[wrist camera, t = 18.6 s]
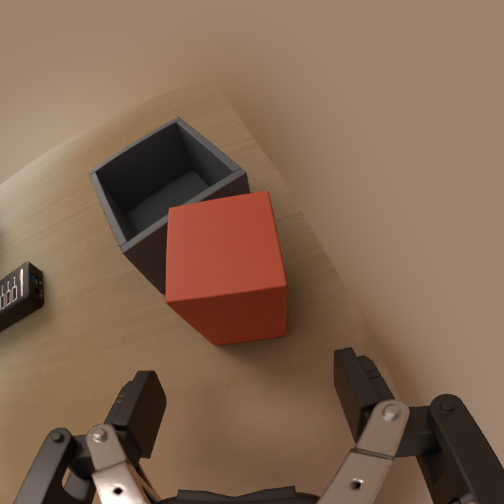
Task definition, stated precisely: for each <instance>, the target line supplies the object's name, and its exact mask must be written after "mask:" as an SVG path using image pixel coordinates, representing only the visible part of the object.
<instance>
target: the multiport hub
mask: <svg viewBox="0 0 504 504" xmlns="http://www.w3.org/2000/svg"><path fill="white" fill-rule="evenodd" d="M43 303H44V299H43V281H42V271H40V270H39V269H38V268H37V267H35V266H34V265H33V264H31V263H30V262H29V261H27V262H26V263H24V264H23V265H21V266H20V267H19V268H17V269H16V270H14V271H13V272H12V273H10V274H9V275H8V276H6V277H5V278H4V279H2V280H1V281H0V332H1V331H2V330H4V329H5V328H7V327H9V326H10V325H12V324H13V323H15V322H17V321H18V320H20V319H22V318H23V317H25V316H27V315H28V314H30V313H32V312H33V311H35V310H37V309H39V308H40V307H42V306H43Z"/></svg>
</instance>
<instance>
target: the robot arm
mask: <svg viewBox="0 0 504 504" xmlns="http://www.w3.org/2000/svg"><path fill="white" fill-rule="evenodd" d="M334 384H335V388H336V391H337V394H338V397H339V399H340V402H341V405H342V408H343V410H344V413H345V416H346V419H347V421H348V424H349V427H350V430H351V433H352V436H353V438H354V441H355V443H357V444H356V446H355V447H354V449H351V450H350V451H349V452H348V454H347V456H346V457H345V459H344V461H343V463H342V464H341V466H340V468H339V469H338V471H337V473H336V474H335V476H334V477H333V479H332V481H331V482H330V484H329V485H328V487H327V488H326V490H325V491H324V493H323V494H322V496H321V497H319V496H316V495H312V494H308V493H300V492H296V491H295V486H290V487H282V488H273V489H264V490H261V491H257V492H254V493H250V494H246V495H242V496H237V497H231V496H226V495H221V494H216V493H212V492H207V491H194V490H179V489H178V494H177V496H175V497H171V498H167V499H164V500H162V499H161V498H160V497H159V495H158V494H157V492H156V491H155V489H154V488H153V486H152V484H151V483H150V481H149V479H148V477H147V476H146V474H145V472H144V470H143V468H142V467H141V465H140V464H139V460H140V458H148V459H150V457H151V453H152V450H153V447H154V443H155V440H156V437H157V434H158V431H159V427H160V424H161V421H162V418H163V415H164V412H165V409H166V404H167V401H166V395H165V393H164V390H163V388H162V386H161V384H160V381H159V379H158V377H157V374H156V373H155V371H138V372H137V373H136V375H135V377H134V379H133V381H129V382H128V383H127V384H126V385H125V386H123V387H122V389H121V391H120V393H119V395H118V397H117V398H116V400H115V403H114V404H113V406H112V408H111V410H110V412H109V414H108V416H107V418H106V420H105V422H104V424H98V425H95V426H93V427H92V428H91V429H90V430H89V431H88V432H87V434H86V435H77V436H72V434H71V433H70V432H69V430H67V429H66V428H56V429H54V430H52V431H51V432H50V433H49V434H48V435H47V437H46V439H45V441H44V442H43V444H42V446H41V448H40V450H39V452H38V454H37V456H36V457H35V459H34V461H33V463H32V465H31V467H30V469H29V471H28V473H27V475H26V477H25V479H24V481H23V484H22V486H21V488H20V490H19V492H18V494H17V496H16V499H15V501H14V503H13V504H92V502H93V498H94V495H95V492H96V489H97V491H98V494H99V496H100V499H101V501H102V504H373V502H374V500H375V498H376V496H377V494H378V492H379V490H380V488H381V486H382V484H383V482H384V480H385V477H386V475H387V473H388V471H389V469H390V466H391V464H392V461H393V459H394V458H395V457H408V456H416V458H417V461H418V463H419V466H420V469H421V471H422V473H423V476H424V479H425V481H426V484H427V487H428V489H429V492H430V495H431V498H432V501H433V503H434V504H504V469H503V467H502V465H501V463H500V461H499V460H498V458H497V456H496V454H495V453H494V451H493V449H492V448H491V446H490V444H489V443H488V441H487V439H486V438H485V436H484V435H483V433H482V431H481V430H480V428H479V426H478V425H477V423H476V422H475V420H474V419H473V417H472V416H471V414H470V413H469V411H468V410H467V408H466V407H465V405H464V404H463V402H462V401H461V400H460V398H458V397H457V396H455V395H451V394H443V395H439V396H438V397H436V398H435V399H434V400H433V401H432V403H431V405H430V406H423V407H408V406H407V405H406V404H405V403H404V402H402V401H400V400H396V399H395V398H394V396H393V394H392V393H391V391H390V389H389V388H388V386H387V384H386V382H385V381H384V379H383V377H382V376H381V374H380V372H379V371H378V370H377V367H376V366H375V364H374V362H373V361H372V360H370V359H369V358H367V357H366V356H364V355H363V356H359V357H357V356H356V354H355V353H354V351H353V349H352V348H351V347H348V348H344V349H339V350H335V351H334ZM67 467H68V468H69V469H70V470H71V471H70V474H69V476H68V478H67V481H66V483H65V486H64V488H63V486H62V479H63V476H64V474H65V472H66V469H67Z"/></svg>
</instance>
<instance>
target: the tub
mask: <svg viewBox="0 0 504 504" xmlns="http://www.w3.org/2000/svg"><path fill="white" fill-rule="evenodd" d="M89 175H90V178H91V181H92V183H93V186H94V188H95V191H96V194H97V196H98V199H99V201H100V203H101V206H102V208H103V211H104V213H105V215H106V218H107V220H108V222H109V225H110V227H111V229H112V231H113V234H114V236H115V238H116V240H117V242H118V244H119V247H120V248H121V251H122V253H123V254H124V255H125V256H126V257H127V259H128V260H129V261H130V262H131V263H132V264H133V265H134V266H135V267H136V268H137V269H138V270H139V271H140V272H141V273H142V274H143V275H144V276H145V277H146V278H147V279H148V280H149V281H150V282H151V283H152V284H153V285H154V286H155V287H156V288H157V289H158V290H159V291H160V292H161V293H162V294H163V293H165V292H166V252H167V231H168V214H169V208H172V207H177V206H182V205H187V204H192V203H198V202H203V201H208V200H214V199H220V198H225V197H231V196H237V195H243V194H250V190H249V184H248V178H247V173H246V172H245V171H244V170H243V169H242V168H241V167H240V166H238V165H237V164H236V163H235V162H234V161H232V160H231V159H230V158H229V157H228V156H227V155H225V154H224V153H223V152H222V151H221V150H219V149H218V148H217V147H216V146H214V145H213V144H212V143H211V142H210V141H208V140H207V139H206V138H205V137H203V136H202V135H201V134H200V133H198V132H197V131H196V130H195V129H193V128H192V127H191V126H190V125H188V124H187V123H186V122H185V121H183V120H182V119H181V118H180V117H178V118H176V119H174V120H172V121H170V122H168V123H166V124H165V125H163V126H161V127H159V128H157V129H156V130H154V131H152V132H150V133H149V134H147V135H145V136H144V137H142V138H140V139H138V140H137V141H135V142H134V143H132V144H130V145H129V146H127V147H126V148H124V149H122V150H121V151H119V152H118V153H116V154H115V155H113V156H112V157H110V158H109V159H107V160H106V161H104V162H103V163H101V164H100V165H98V166H97V167H95V168H94V169H93V170H91V171H90V172H89Z"/></svg>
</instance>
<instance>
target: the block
mask: <svg viewBox="0 0 504 504" xmlns="http://www.w3.org/2000/svg"><path fill="white" fill-rule="evenodd" d="M166 303H167V304H168V305H169V306H170V307H171V308H172V309H173V310H174V311H175V312H176V313H177V314H179V315H180V316H181V317H182V318H183V319H184V320H185V321H186V322H188V323H189V324H190V325H191V326H192V327H193V328H194V329H196V330H197V331H198V332H199V333H200V334H201V335H203V336H204V337H205V338H206V339H207V340H209V341H210V342H211V343H212V344H213V345H222V344H231V343H239V342H247V341H254V340H261V339H268V338H275V337H281V336H285V335H286V313H287V279H286V274H285V269H284V264H283V259H282V254H281V248H280V243H279V239H278V234H277V229H276V224H275V219H274V214H273V209H272V205H271V200H270V195H269V192H268V191H262V192H256V193H250V194H243V195H237V196H231V197H225V198H220V199H214V200H208V201H203V202H198V203H192V204H187V205H182V206H177V207H172V208H169V214H168V231H167V252H166Z"/></svg>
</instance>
